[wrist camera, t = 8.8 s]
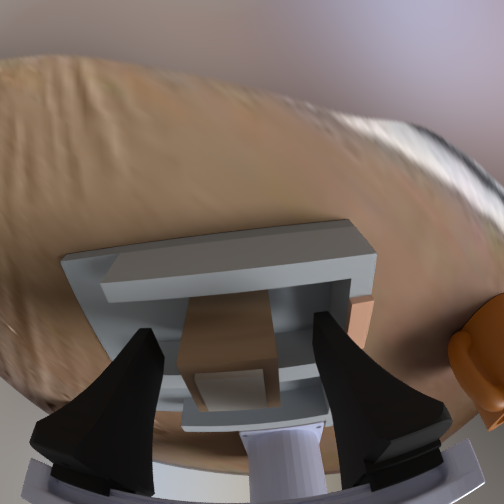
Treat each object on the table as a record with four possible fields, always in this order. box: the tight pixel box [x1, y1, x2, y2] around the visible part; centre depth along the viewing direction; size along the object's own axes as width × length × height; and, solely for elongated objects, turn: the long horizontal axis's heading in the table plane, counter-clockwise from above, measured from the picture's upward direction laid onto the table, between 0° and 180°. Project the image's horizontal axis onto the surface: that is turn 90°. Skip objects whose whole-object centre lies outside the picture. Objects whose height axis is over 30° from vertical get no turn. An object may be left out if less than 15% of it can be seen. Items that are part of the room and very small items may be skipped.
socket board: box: [60, 220, 377, 432], centre depth 15 cm, size 14×15×4 cm
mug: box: [448, 293, 504, 431], centre depth 15 cm, size 9×12×9 cm
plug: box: [176, 289, 281, 412], centre depth 12 cm, size 4×4×5 cm
